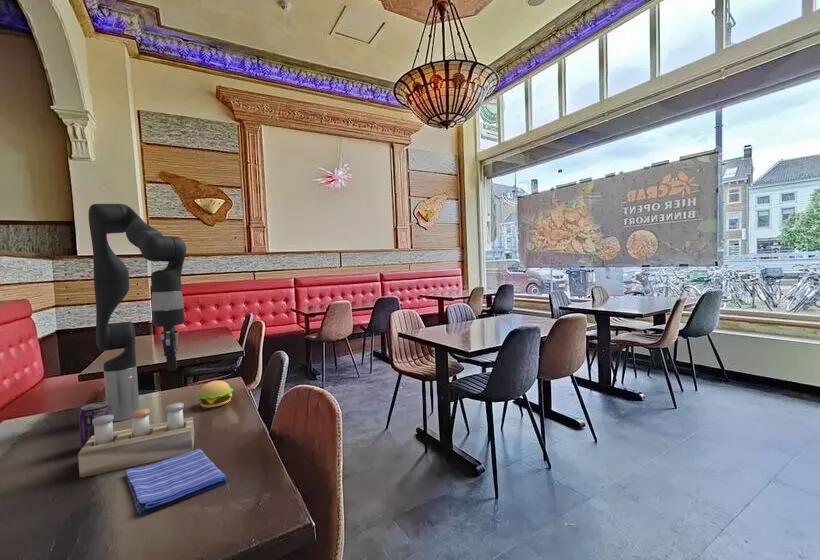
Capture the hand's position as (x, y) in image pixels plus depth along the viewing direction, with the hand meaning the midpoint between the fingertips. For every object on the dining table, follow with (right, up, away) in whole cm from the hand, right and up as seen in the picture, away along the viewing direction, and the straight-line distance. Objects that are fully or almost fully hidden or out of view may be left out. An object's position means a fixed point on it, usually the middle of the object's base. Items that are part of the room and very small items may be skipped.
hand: (172, 369), depth 108 cm
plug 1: (-13, -18, -7) cm, 24 cm away
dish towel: (+11, -23, -17) cm, 30 cm away
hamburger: (-6, -22, +37) cm, 44 cm away
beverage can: (-24, -23, +4) cm, 34 cm away
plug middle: (-6, -18, -3) cm, 19 cm away
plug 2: (+1, -18, 0) cm, 18 cm away
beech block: (-6, -22, -3) cm, 23 cm away
